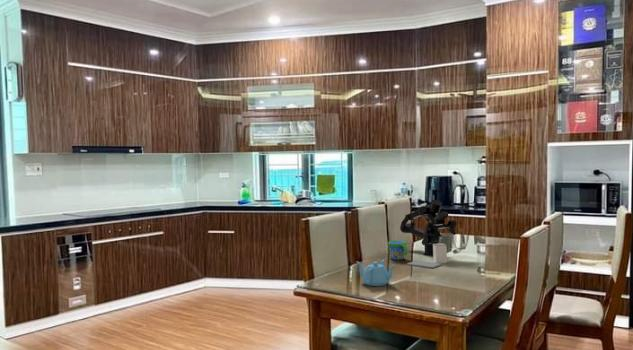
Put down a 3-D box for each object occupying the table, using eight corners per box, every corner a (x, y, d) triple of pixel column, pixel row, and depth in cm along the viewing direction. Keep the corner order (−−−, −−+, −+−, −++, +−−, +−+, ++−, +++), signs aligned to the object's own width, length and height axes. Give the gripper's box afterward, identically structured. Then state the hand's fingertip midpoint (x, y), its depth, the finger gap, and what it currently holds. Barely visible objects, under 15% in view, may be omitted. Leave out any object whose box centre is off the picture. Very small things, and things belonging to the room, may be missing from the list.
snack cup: (412, 260, 266) (412, 243, 266) (397, 262, 262) (396, 244, 262) (398, 256, 281) (397, 239, 280) (383, 258, 277) (382, 241, 276)
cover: (433, 261, 263) (432, 243, 262) (443, 260, 263) (443, 243, 262) (436, 263, 257) (435, 245, 256) (447, 262, 257) (446, 245, 256)
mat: (406, 264, 255) (406, 263, 255) (416, 261, 262) (416, 260, 262) (432, 268, 244) (432, 267, 244) (442, 265, 251) (441, 263, 251)
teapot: (365, 289, 209) (365, 266, 209) (356, 281, 224) (355, 260, 224) (396, 286, 212) (395, 264, 212) (384, 278, 227) (383, 257, 227)
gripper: (423, 209, 268) (436, 225, 256) (451, 206, 274) (465, 222, 261) (419, 225, 274) (432, 241, 261) (447, 221, 279) (460, 237, 267)
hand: (448, 235), depth 262 cm, fingers open, 9 cm apart
